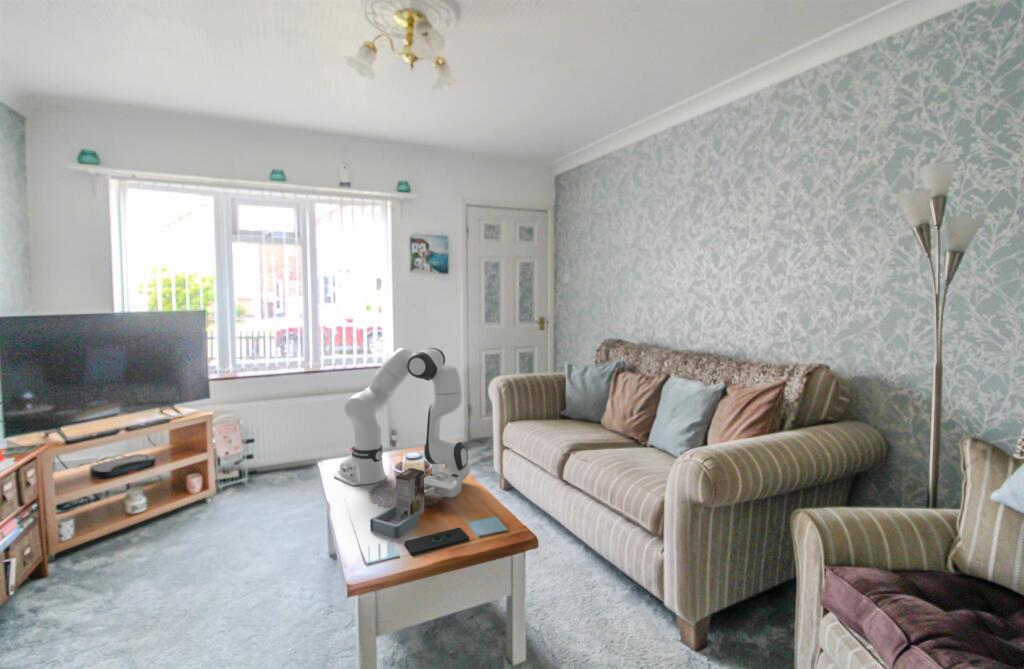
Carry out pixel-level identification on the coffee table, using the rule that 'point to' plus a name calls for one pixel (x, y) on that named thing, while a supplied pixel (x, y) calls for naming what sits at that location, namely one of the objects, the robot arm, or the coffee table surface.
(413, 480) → the coffee box
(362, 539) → the coffee table surface
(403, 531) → the grey u-shaped channel
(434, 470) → the jar
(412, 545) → the smart home device
